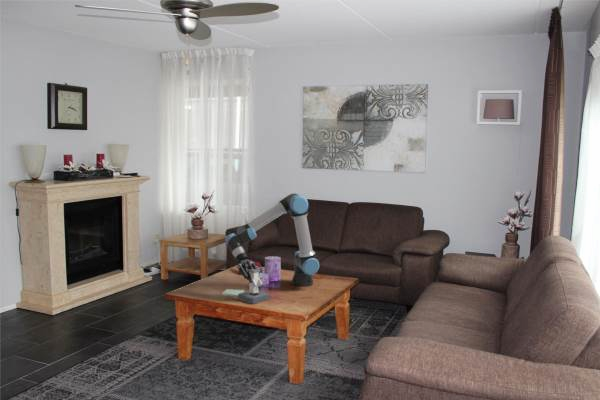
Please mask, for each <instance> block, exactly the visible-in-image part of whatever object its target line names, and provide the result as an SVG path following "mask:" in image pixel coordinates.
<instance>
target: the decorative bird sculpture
mask: <svg viewBox="0 0 600 400" xmlns="http://www.w3.org/2000/svg"><path fill="white" fill-rule="evenodd" d="M249 260H250V261H251V262H253V261H254V260H252V259H249ZM254 262H255V265H256V266H258V267H261V268H262V265H261V263H260V262H259V261H254ZM238 264H239V263H238V262H237V265H238ZM237 265H236V266H237ZM248 271H249V269H248ZM238 275H242V273H241V272H240V270H239V269H238Z"/></svg>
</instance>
